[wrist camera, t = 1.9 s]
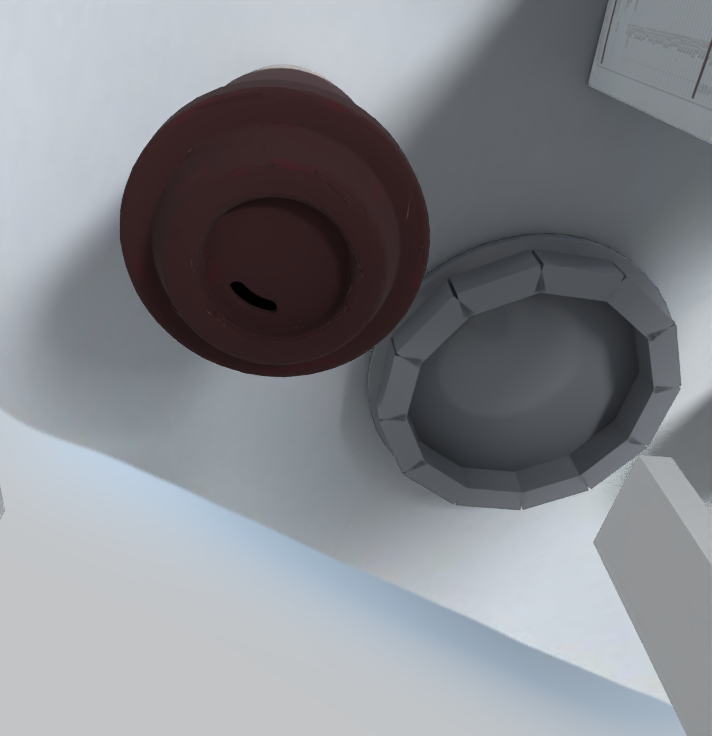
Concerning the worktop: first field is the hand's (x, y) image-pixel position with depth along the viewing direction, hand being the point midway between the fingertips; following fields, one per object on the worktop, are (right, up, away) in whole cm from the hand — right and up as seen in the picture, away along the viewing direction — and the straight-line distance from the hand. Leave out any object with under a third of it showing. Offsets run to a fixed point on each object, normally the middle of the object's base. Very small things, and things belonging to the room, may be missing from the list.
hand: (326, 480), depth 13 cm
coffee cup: (-3, +14, +19) cm, 23 cm away
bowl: (+11, +2, +27) cm, 29 cm away
